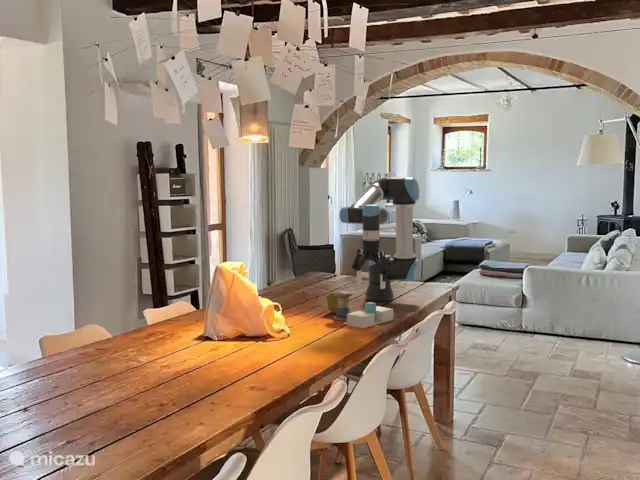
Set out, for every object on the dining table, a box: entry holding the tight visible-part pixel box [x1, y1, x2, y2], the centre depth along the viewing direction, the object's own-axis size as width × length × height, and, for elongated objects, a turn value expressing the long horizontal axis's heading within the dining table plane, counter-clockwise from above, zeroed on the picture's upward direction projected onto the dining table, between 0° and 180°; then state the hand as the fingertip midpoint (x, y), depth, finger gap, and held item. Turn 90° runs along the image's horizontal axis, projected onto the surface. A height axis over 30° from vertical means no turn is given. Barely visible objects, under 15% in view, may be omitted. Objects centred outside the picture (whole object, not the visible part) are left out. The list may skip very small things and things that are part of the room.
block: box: [364, 301, 377, 321], centre depth 281 cm, size 4×4×8 cm
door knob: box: [332, 290, 353, 322], centre depth 288 cm, size 9×9×12 cm
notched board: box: [346, 305, 394, 329], centre depth 281 cm, size 22×9×5 cm, turn 137°
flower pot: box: [326, 292, 350, 314], centre depth 301 cm, size 9×9×9 cm
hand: (370, 286), depth 280 cm, fingers open, 13 cm apart
